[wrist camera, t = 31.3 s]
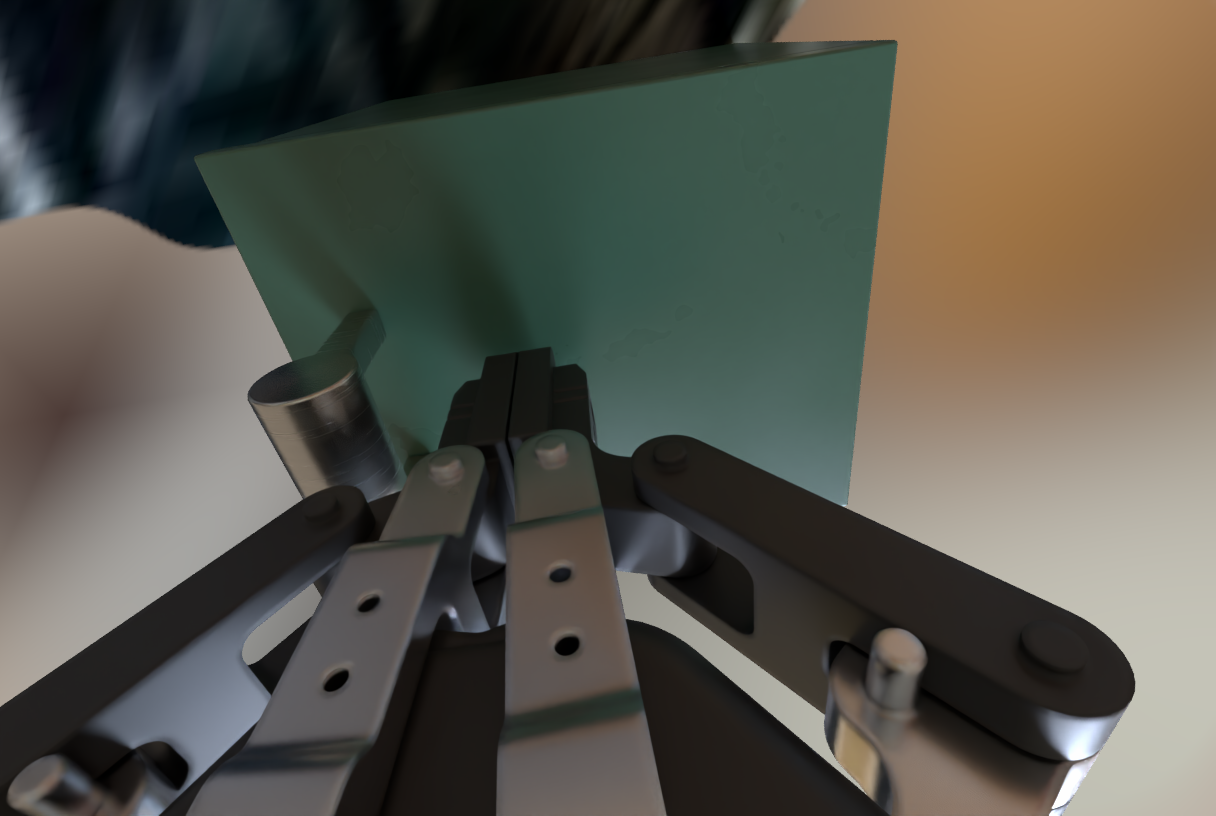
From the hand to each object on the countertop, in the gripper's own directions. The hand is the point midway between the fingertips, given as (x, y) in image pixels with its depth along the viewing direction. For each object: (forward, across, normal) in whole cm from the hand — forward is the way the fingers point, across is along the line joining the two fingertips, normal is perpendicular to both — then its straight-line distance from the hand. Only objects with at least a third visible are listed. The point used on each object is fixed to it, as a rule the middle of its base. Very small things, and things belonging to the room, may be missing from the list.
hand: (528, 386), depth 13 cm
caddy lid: (+1, -2, 0) cm, 2 cm away
